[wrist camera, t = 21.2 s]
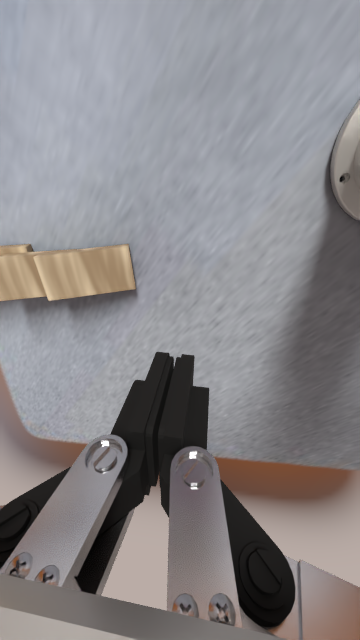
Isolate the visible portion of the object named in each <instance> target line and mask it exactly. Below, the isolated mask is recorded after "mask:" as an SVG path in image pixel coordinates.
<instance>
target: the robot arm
mask: <svg viewBox="0 0 360 640" xmlns="http://www.w3.org/2000/svg"><path fill="white" fill-rule="evenodd" d="M330 172H331V184H332V189H333V193H334V195H335V197H336V200H337V202H338V204H339V205H340V206H341V207H342V209H343V210H344V211H345V212H346V213H347V214H349V215H350V216H351V217H353V218H354V219H356V220H358V221H360V99H359V100H358V102H357V103H356V105H355V106H354V108H353V109H352V111H351V112H350V113H349V115H348V116H347V118H346V120H345V122H344V124H343V126H342V128H341V130H340V132H339V134H338V137H337V140H336V143H335V146H334V149H333V154H332V159H331V165H330ZM341 176H342V177H343V180H342V181H341V182H340V181H339V180H340V177H341ZM193 372H194V355H184V354H182V356H181V358H180V357H177V358H176V362H175V366H174V358H173V357H170V356H169V353H163V352H156V354H155V357H154V359H153V362H152V364H151V367H150V370H149V372H148V375H147V377H146V380H145V381H142V380H135V381H134V383H133V385H132V387H131V389H130V392H129V394H128V396H127V398H126V400H125V403H124V405H123V407H122V409H121V412H120V414H119V416H118V418H117V421H116V423H115V425H114V427H113V430H112V432H111V434H109V435H102V436H100V437H97V438H95V439H94V440H93V441H91V442H90V443H89V444H88V445H87V446H86V447H85V448H84V450H83V451H82V453H81V454H80V455H79V457H78V458H77V460H76V461H75V463H74V464H73V466H71V467H69V468H68V469H66V470H64V471H62V472H61V473H59V474H57V475H55V476H54V477H52V478H50V479H49V480H47V481H45V482H44V483H42V484H40V485H38V486H37V487H35V488H33V489H31V490H30V491H28V492H26V493H24V494H23V495H21V496H19V497H18V498H16V499H14V500H13V501H11V502H9V503H8V504H7V505H4V506H0V640H360V587H358V586H355V585H353V584H351V583H349V582H347V581H345V580H343V579H340V578H339V577H336V576H334V575H332V574H330V573H328V572H326V571H324V570H322V569H319V568H317V567H315V566H313V565H311V564H309V563H307V562H305V561H303V560H300V561H299V562H297V561H295V560H293V559H291V558H289V557H287V556H284V555H283V553H282V552H281V551H280V549H279V548H278V547H277V546H276V544H275V543H274V542H273V541H272V540H271V538H270V537H269V536H268V535H267V534H266V532H265V531H264V530H263V529H262V528H261V527H260V525H259V524H258V523H257V522H256V521H255V519H254V518H253V517H252V516H251V515H250V513H249V512H248V511H247V510H246V509H245V508H244V507H243V505H242V504H241V503H240V502H239V500H238V499H237V498H236V497H235V496H234V495H233V493H232V492H231V491H230V490H229V489H228V487H227V486H226V485H225V484H224V483H223V482H222V480H221V479H220V475H219V469H218V465H217V462H216V460H215V459H214V457H213V456H212V454H210V453H209V452H208V451H207V428H208V405H209V388H205V387H196V386H193ZM158 475H159V476H160V487H161V505H162V507H163V508H164V510H165V512H166V513H167V515H168V517H169V547H168V585H167V587H168V588H167V611H165V610H161V609H156V608H152V607H148V606H143V605H139V604H134V603H130V602H125V601H120V600H117V599H112V598H108V597H103V596H101V594H102V592H103V589H104V587H105V584H106V581H107V579H108V576H109V574H110V571H111V569H112V566H113V564H114V561H115V558H116V556H117V554H118V551H119V549H120V546H121V544H122V541H123V539H124V536H125V533H126V531H127V528H128V526H129V523H130V521H131V518H132V515H133V513H134V509H135V507H137V506H138V505H139V504H140V503H142V502H143V499H144V495H149V493H150V488H151V486H156V484H157V480H158Z"/></svg>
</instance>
